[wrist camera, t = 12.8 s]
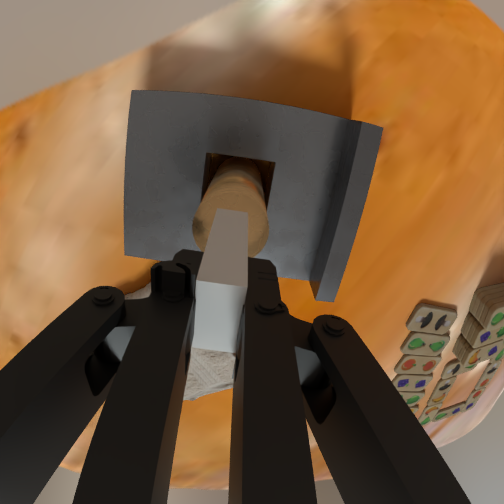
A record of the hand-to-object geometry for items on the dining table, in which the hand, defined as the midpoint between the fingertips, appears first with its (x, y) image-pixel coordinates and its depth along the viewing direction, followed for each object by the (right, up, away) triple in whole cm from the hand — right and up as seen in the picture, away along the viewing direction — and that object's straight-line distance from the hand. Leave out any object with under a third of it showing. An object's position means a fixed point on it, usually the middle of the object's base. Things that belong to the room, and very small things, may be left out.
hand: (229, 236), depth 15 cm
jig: (0, +6, +11) cm, 13 cm away
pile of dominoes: (+35, -21, +26) cm, 48 cm away
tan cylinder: (0, +6, +11) cm, 13 cm away
